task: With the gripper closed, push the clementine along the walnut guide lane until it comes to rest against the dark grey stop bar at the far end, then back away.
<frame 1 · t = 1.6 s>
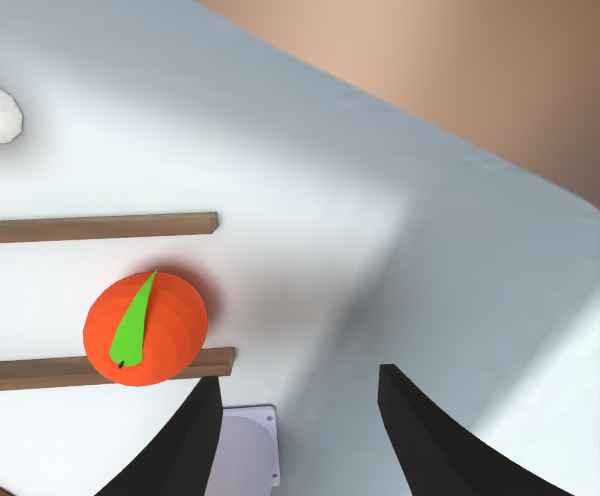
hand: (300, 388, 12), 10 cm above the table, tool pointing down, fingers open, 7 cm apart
lane rails: (74, 299, 21), on the table
milkshake: (4, 119, 18), on the table
clementine: (173, 292, 22), on the table
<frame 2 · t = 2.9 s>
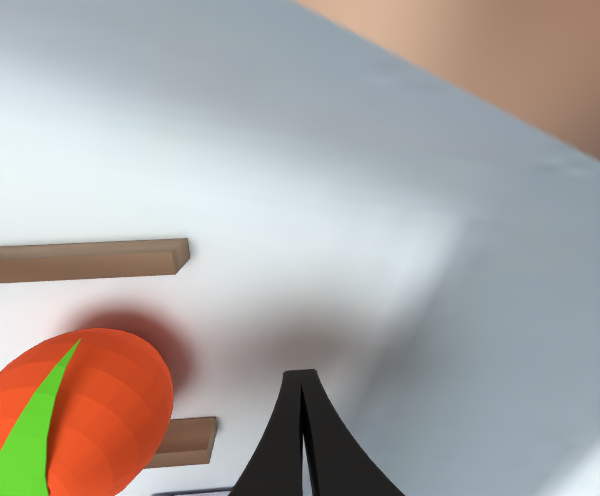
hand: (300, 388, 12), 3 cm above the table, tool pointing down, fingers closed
clementine: (130, 347, 16), on the table
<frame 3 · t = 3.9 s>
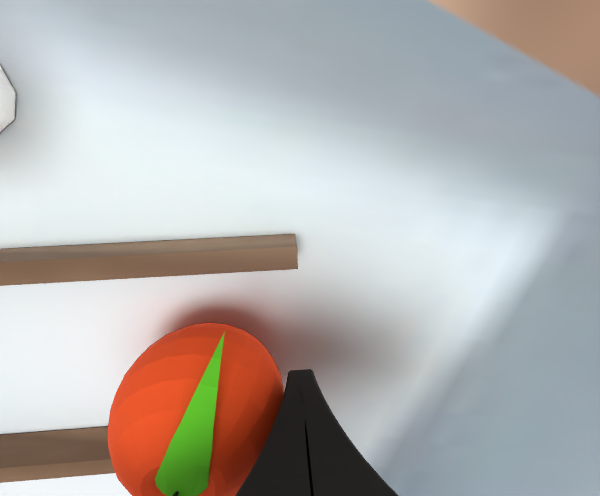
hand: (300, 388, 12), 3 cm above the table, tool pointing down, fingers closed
lane rails: (91, 354, 15), on the table
clementine: (223, 342, 16), on the table, touching gripper
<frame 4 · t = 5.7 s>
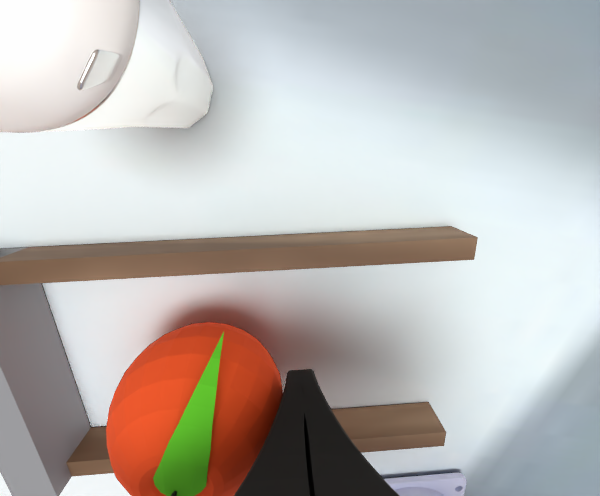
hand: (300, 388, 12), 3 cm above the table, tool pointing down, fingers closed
lane rails: (238, 344, 16), on the table
milkshake: (183, 94, 12), on the table
clementine: (223, 342, 16), on the table, touching gripper
stop bar: (46, 356, 15), on the table
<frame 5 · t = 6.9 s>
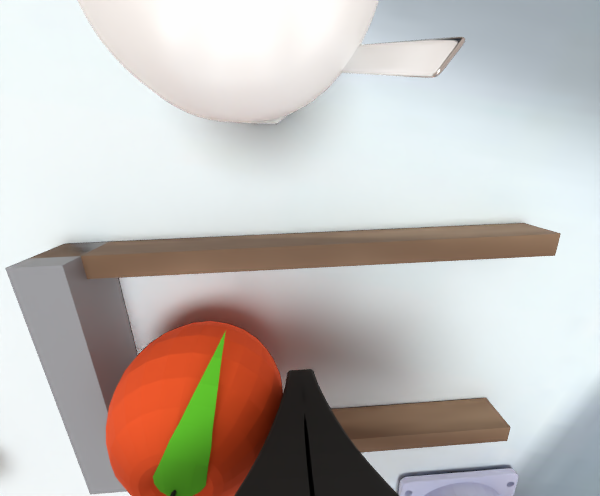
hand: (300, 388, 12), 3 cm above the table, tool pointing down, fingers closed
lane rails: (305, 339, 16), on the table
milkshake: (272, 90, 12), on the table
clementine: (223, 341, 16), on the table, touching gripper
stop bar: (116, 351, 15), on the table
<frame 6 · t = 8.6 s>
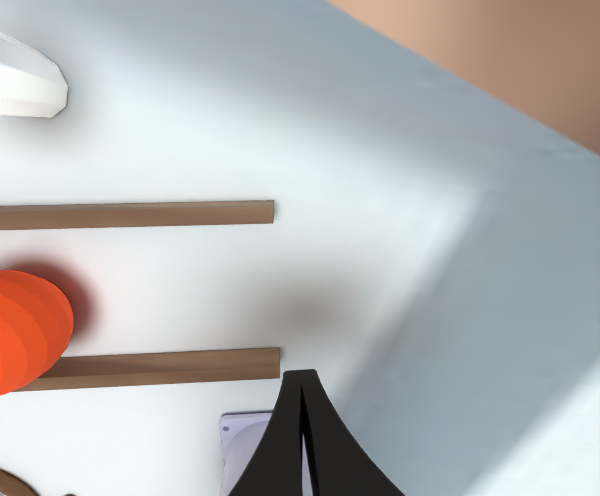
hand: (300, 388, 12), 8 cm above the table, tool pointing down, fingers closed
lane rails: (113, 292, 19), on the table
milkshake: (47, 91, 16), on the table
clementine: (47, 292, 19), on the table
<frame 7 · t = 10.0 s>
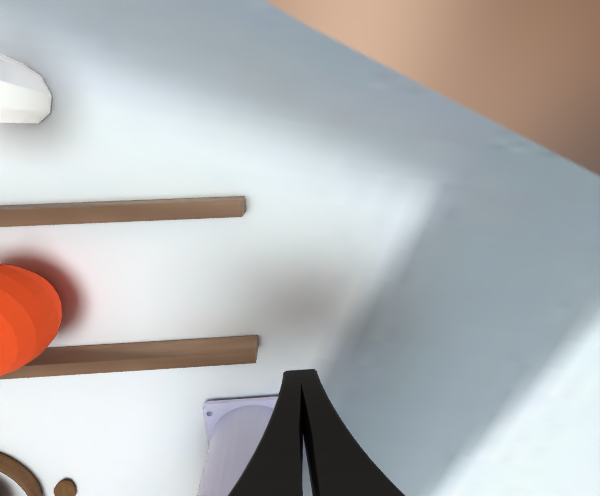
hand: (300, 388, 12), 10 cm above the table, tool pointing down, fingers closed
lane rails: (99, 285, 21), on the table
milkshake: (33, 100, 17), on the table
clementine: (37, 286, 21), on the table
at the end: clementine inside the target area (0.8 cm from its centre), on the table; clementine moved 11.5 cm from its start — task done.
